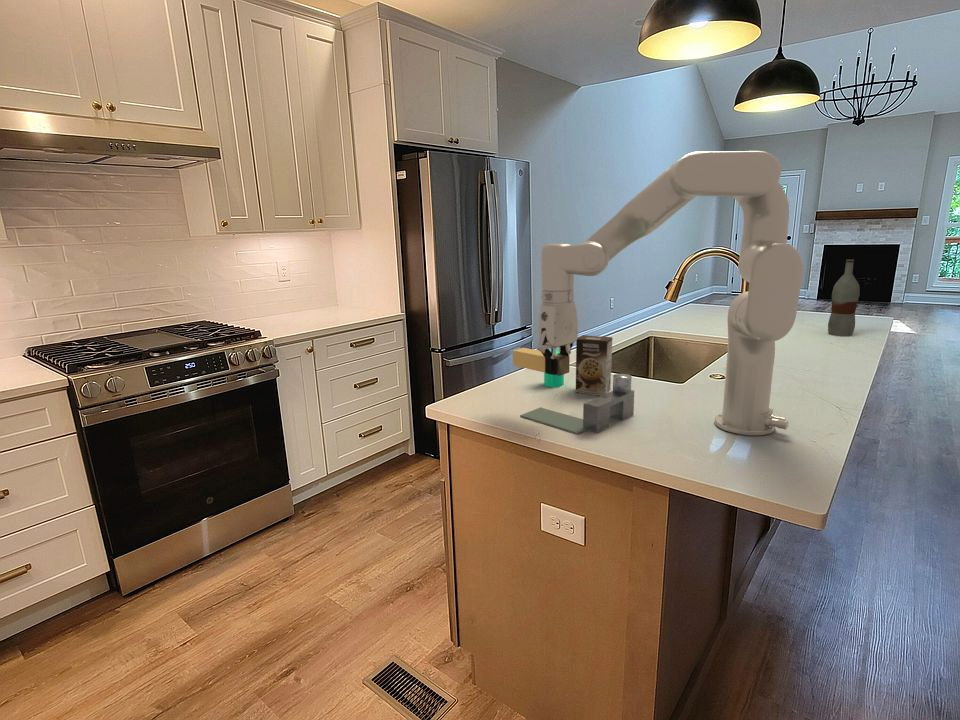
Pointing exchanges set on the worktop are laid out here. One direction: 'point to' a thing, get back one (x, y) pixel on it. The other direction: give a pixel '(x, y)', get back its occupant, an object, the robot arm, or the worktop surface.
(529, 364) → the yellow rectangular block
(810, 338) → the worktop surface
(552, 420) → the mat
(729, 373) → the robot arm
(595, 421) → the housing
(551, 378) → the candle
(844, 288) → the bottle
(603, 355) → the coffee box
